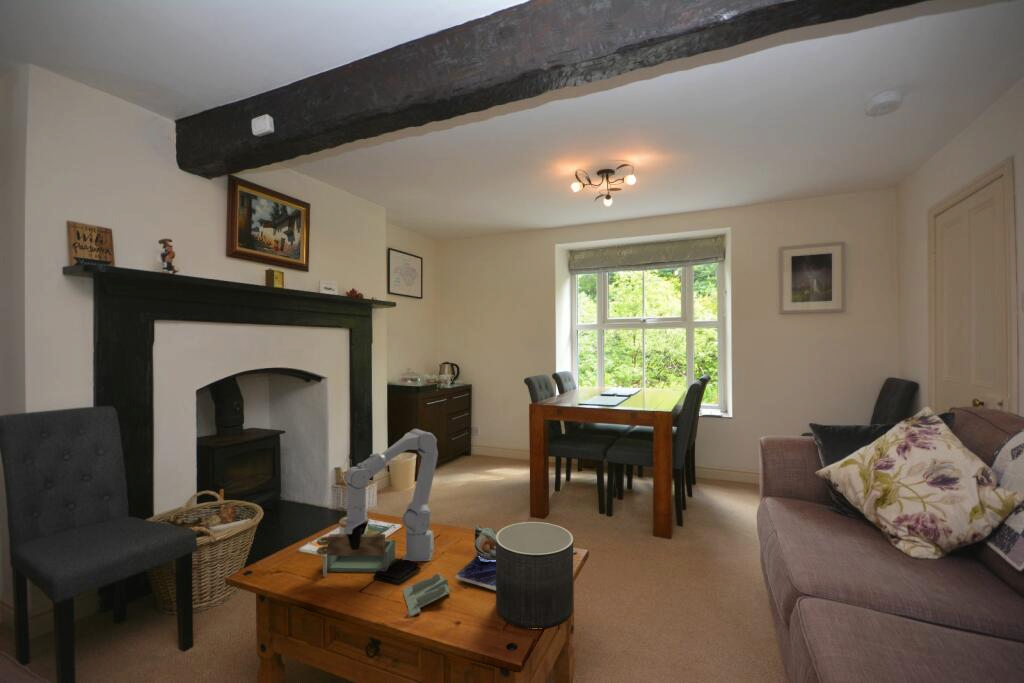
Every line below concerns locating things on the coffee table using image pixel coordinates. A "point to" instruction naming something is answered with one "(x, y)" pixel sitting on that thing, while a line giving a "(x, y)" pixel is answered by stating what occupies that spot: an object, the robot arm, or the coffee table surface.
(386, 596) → the coffee table surface
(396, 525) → the coffee table surface
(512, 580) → the planter
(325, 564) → the sage green open box
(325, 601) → the coffee table surface
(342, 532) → the lidded jar
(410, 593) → the metal bracket
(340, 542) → the brown gear-headed lever
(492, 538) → the lucky cat figurine
